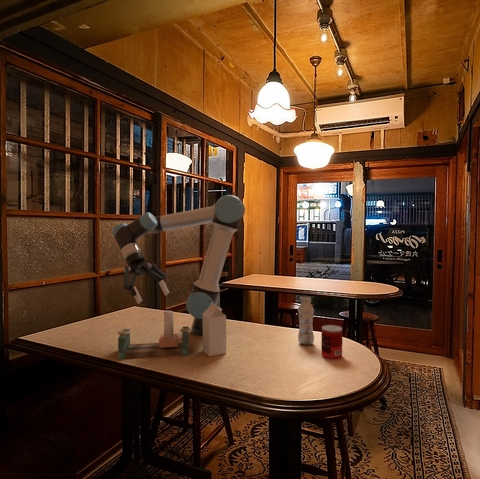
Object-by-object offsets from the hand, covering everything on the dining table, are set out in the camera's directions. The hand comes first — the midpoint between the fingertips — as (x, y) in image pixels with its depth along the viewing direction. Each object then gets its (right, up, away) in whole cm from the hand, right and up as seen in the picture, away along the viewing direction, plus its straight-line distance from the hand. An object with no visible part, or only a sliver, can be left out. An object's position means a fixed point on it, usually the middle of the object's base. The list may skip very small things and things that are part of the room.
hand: (154, 298), depth 146 cm
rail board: (+2, -20, -7) cm, 21 cm away
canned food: (+71, -21, -11) cm, 74 cm away
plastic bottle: (+63, -20, +3) cm, 67 cm away
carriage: (+7, -17, -6) cm, 20 cm away
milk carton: (+25, -20, -7) cm, 33 cm away
